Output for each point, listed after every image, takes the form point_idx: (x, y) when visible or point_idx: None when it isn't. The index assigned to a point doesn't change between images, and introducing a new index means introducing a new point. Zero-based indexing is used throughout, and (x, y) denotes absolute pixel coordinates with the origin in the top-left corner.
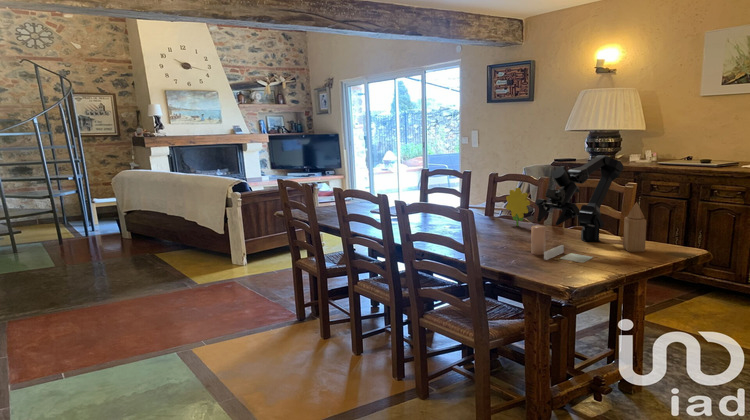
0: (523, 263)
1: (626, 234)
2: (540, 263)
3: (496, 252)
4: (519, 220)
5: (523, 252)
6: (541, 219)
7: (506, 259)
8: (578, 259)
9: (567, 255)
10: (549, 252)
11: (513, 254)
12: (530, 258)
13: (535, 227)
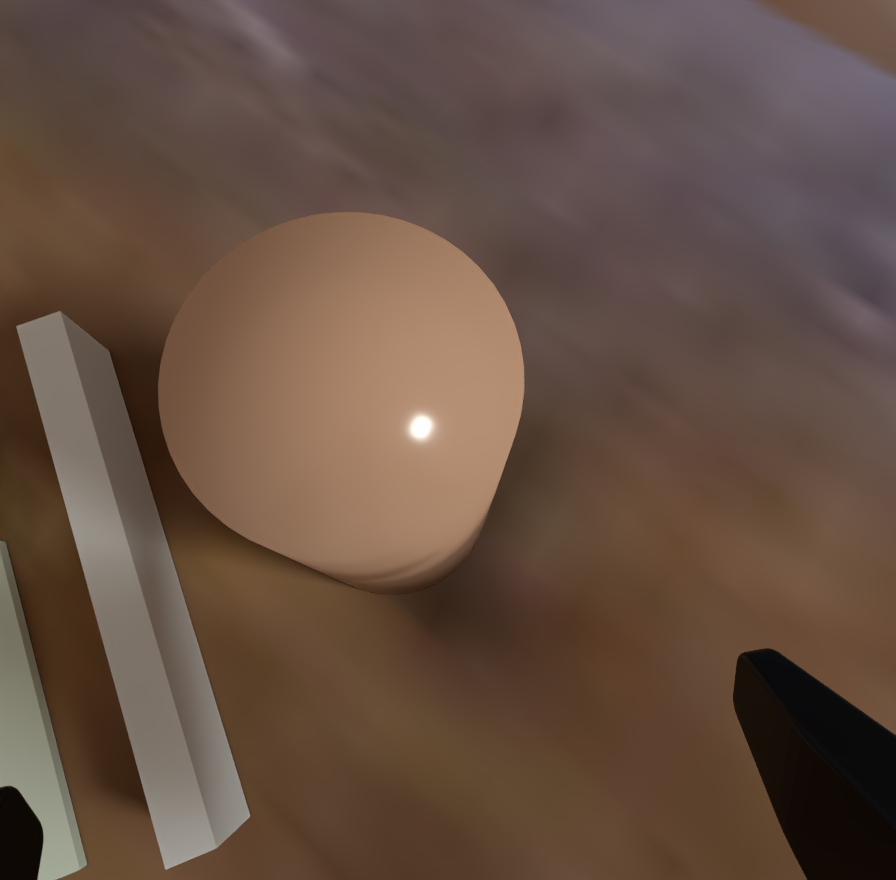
0: (123, 66)
1: None
2: (10, 211)
3: (672, 91)
4: None
5: None
6: (805, 862)
7: (353, 16)
8: None
9: (18, 724)
10: (43, 400)
11: (494, 197)
12: None
13: (314, 258)
